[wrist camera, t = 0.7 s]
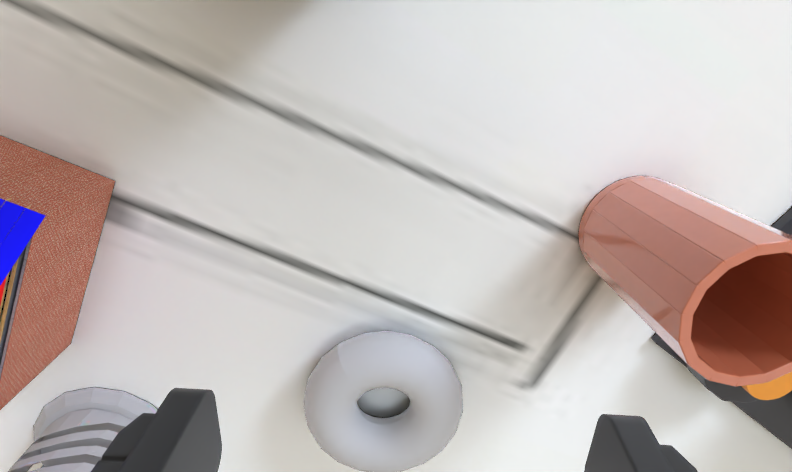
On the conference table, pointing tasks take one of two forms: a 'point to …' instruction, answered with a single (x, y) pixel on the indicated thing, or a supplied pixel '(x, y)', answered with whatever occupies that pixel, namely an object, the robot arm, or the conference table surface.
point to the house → (43, 256)
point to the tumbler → (696, 276)
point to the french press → (79, 429)
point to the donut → (383, 368)
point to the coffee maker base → (779, 416)
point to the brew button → (771, 388)
